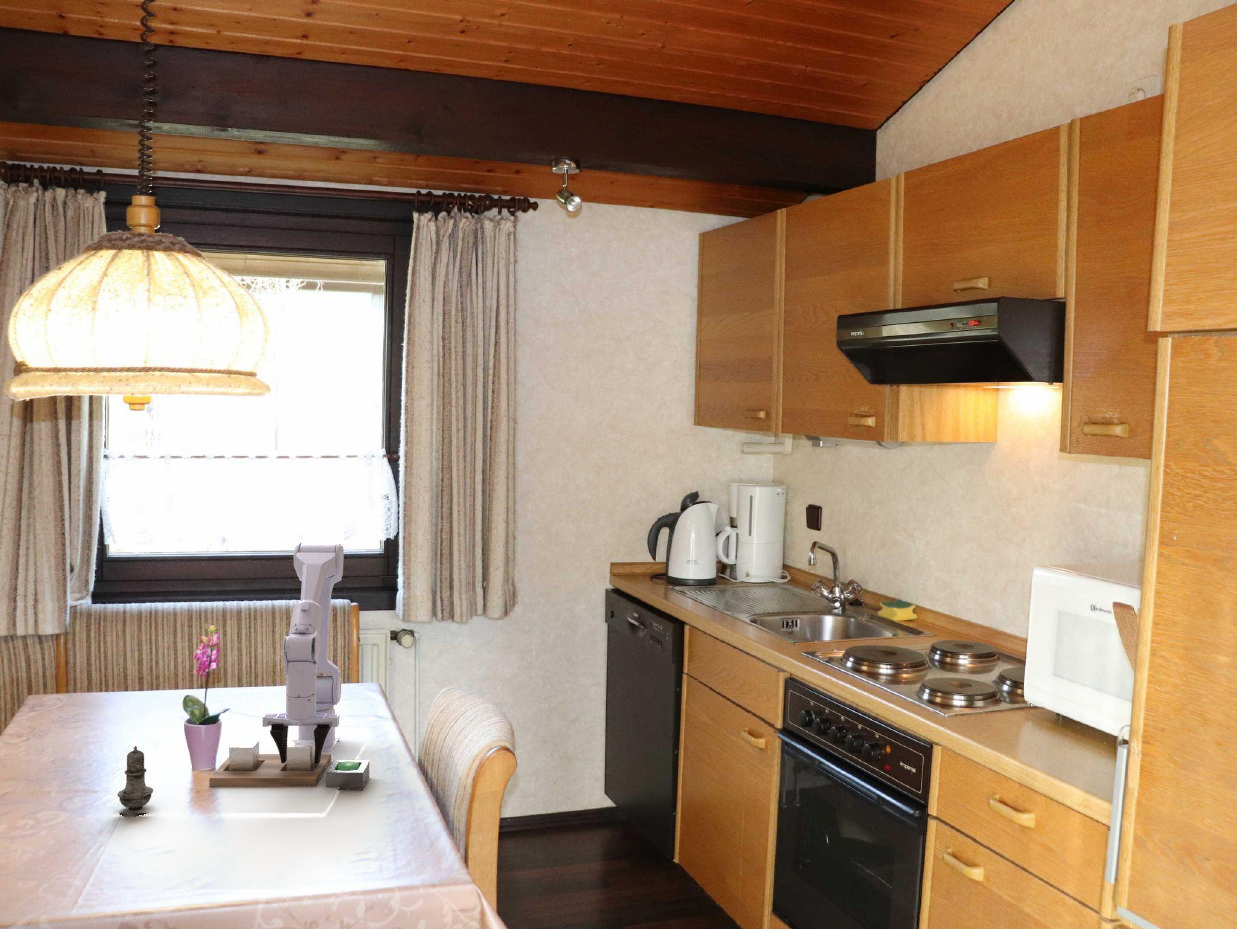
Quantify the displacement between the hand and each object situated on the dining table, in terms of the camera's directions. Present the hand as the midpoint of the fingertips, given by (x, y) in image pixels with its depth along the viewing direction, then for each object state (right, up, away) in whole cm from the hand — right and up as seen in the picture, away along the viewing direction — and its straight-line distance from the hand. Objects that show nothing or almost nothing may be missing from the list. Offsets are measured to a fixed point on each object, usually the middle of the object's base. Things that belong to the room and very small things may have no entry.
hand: (300, 761), depth 209 cm
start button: (+10, -2, -3) cm, 11 cm away
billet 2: (0, -2, 0) cm, 2 cm away
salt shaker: (-24, -4, -19) cm, 31 cm away
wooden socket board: (-6, -3, 0) cm, 6 cm away
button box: (+10, -3, -3) cm, 11 cm away
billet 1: (-11, -2, -1) cm, 11 cm away
